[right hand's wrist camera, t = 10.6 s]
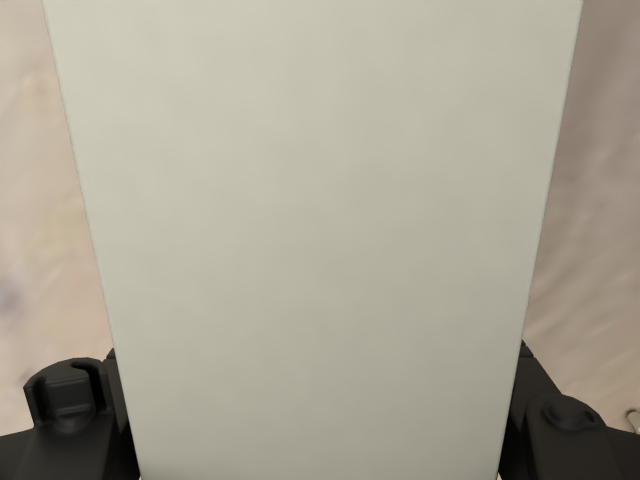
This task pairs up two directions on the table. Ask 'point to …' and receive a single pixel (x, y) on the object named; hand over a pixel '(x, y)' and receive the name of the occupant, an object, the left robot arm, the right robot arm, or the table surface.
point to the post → (315, 223)
